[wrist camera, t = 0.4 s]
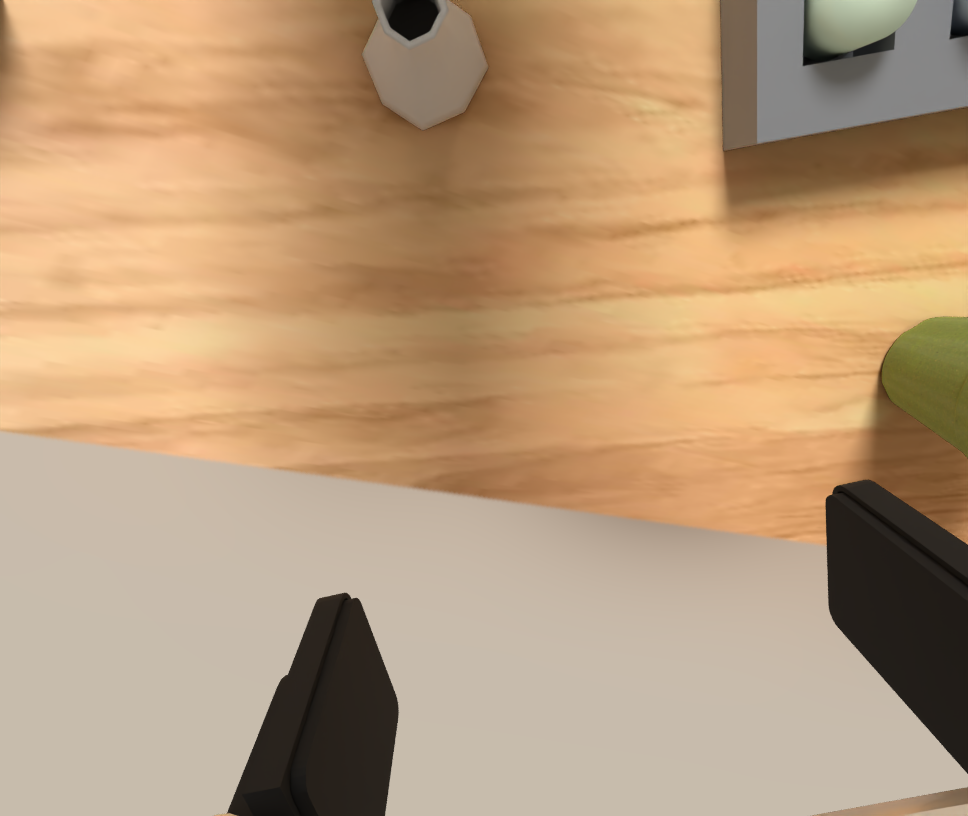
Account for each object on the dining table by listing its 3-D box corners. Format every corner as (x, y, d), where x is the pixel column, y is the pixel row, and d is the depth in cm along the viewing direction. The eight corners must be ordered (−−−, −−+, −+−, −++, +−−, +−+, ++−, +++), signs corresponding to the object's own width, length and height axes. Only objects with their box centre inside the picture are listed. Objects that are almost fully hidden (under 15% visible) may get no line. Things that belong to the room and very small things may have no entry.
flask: (429, -40, 32) (414, -142, 23) (509, 70, 34) (525, 17, 25) (340, 53, 34) (292, -8, 24) (422, 153, 36) (406, 133, 26)
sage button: (789, -23, 31) (834, -54, 27) (869, -37, 31) (925, -72, 27) (788, 67, 32) (830, 49, 29) (864, 53, 32) (916, 33, 29)
